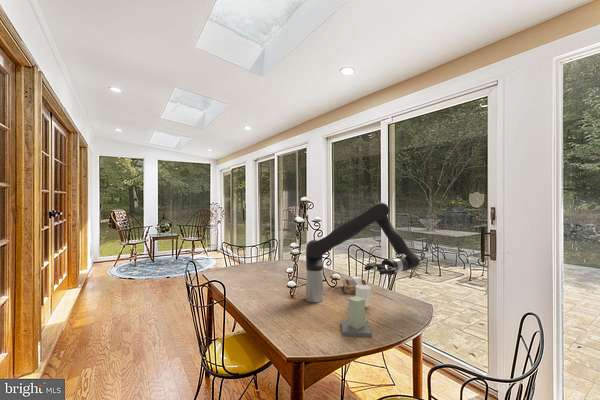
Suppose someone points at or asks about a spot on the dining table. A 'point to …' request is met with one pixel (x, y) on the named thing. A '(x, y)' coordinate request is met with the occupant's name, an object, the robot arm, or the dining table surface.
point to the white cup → (363, 293)
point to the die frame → (351, 289)
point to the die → (355, 281)
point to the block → (356, 312)
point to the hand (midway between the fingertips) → (372, 270)
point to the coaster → (355, 330)
